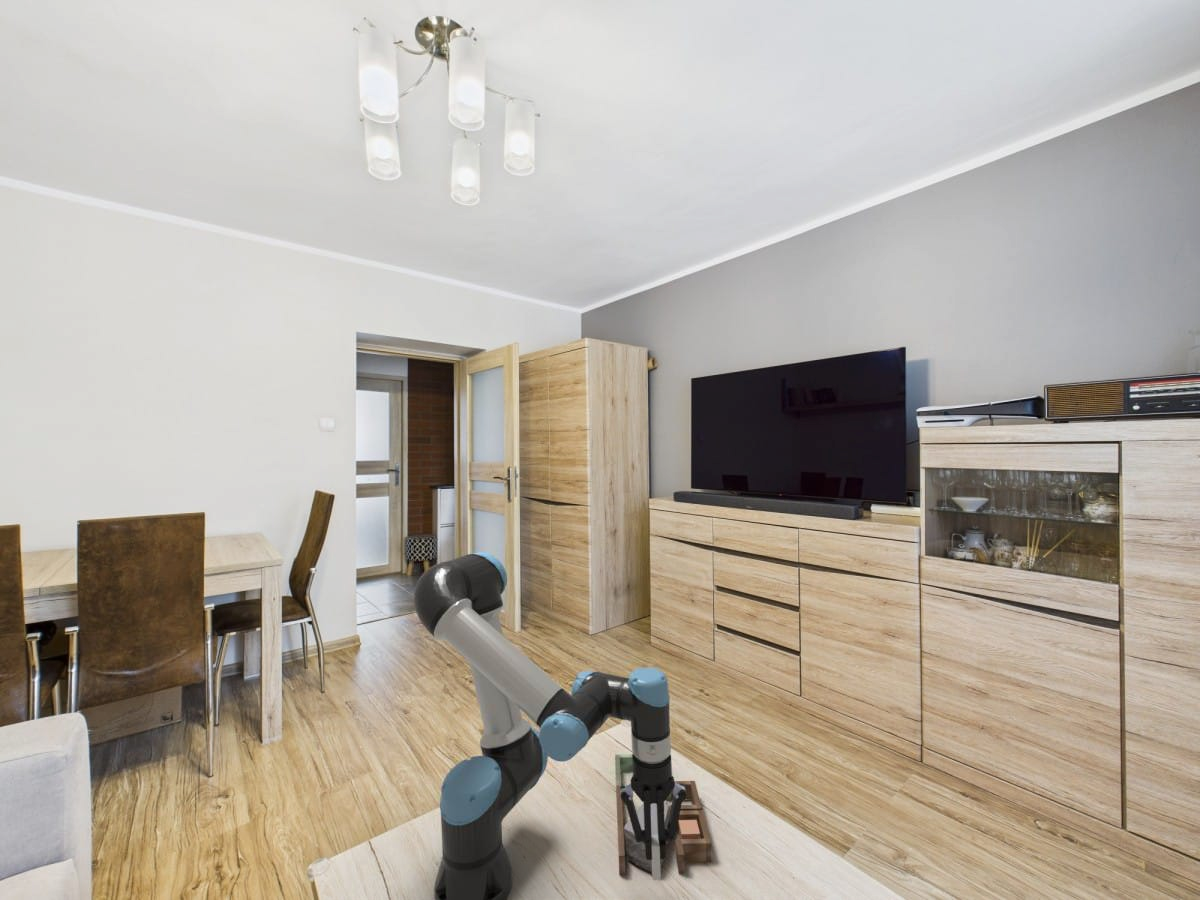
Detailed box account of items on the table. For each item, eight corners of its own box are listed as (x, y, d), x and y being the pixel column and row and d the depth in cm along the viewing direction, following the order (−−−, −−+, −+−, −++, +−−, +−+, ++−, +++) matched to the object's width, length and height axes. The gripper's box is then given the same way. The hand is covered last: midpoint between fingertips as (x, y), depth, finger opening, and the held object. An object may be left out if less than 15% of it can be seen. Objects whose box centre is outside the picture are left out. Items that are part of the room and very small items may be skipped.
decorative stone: (624, 876, 104) (673, 878, 103) (622, 843, 104) (671, 844, 103) (628, 822, 118) (671, 823, 117) (626, 793, 118) (669, 794, 117)
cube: (681, 852, 109) (681, 834, 109) (679, 837, 113) (678, 820, 113) (700, 851, 109) (699, 833, 109) (696, 837, 113) (696, 819, 113)
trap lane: (619, 874, 104) (618, 855, 104) (615, 769, 137) (615, 754, 137) (714, 873, 103) (714, 854, 103) (687, 767, 137) (687, 753, 137)
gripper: (618, 766, 94) (623, 892, 94) (688, 764, 94) (693, 889, 94) (617, 742, 101) (621, 858, 102) (682, 740, 101) (686, 856, 101)
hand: (656, 873), depth 98 cm, fingers closed
